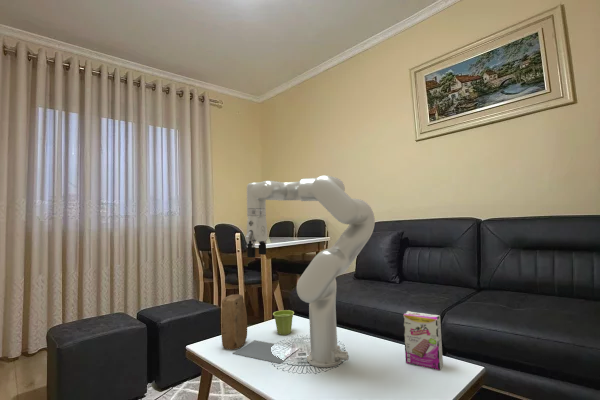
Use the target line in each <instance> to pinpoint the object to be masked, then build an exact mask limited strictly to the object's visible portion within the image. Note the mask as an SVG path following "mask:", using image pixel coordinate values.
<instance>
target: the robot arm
mask: <svg viewBox="0 0 600 400" xmlns="http://www.w3.org/2000/svg"><path fill="white" fill-rule="evenodd" d="M267 201H301V202H319V203H320V204H321V205H322V207H324V208H325V210H327V212H329V214H330V215H331V216H333V218H335V220H336V221H337V222H340V223H341V224H344V225H348V226H347V228H346V229H345V230H344V231H343V232H342V233H341V235H339V238H338V239H337V240H336V242H335V243H334V244H333V245H332V246H331V247H329V248H326V249H324V250H323V249H322V250H321V251H320V252H318V253H317V254H316V255H315V256H314V257H313V258H312V260H311V261H310V263H309V264H308V266H307V267H306V268H305V270H304V271H303V273H302V274H301V276H300V277H299V278H298V280H297V283H296V293H297V296H298V297H299V299H300V300H301V301H302V302H304V303H308V306H309V307H308V311H309V312H308V313H309V314H308V317H309V318H308V319H309V339H310V353H311V354H310V355H309V356H306V362H307V361H308V362H309V363H308V362H307V363H308V364H309V365H310V366H313V367H317V368H331V367H335V366H338V365H340V364H341V363H342V362H343V361H348V360H349V357H350V356H349V353H348V351H345V350H341V345H338V334H337V333H338V332H337V311H336V309H337V308H336V305H337V303H336V301H337V300H336V297H337V280H336V278H337V277H338V276H340V275H344V273H346V272H347V270H349V269H350V267H351V265H352V263H353V262H354V261H355V259H357V256H358V255H359V254H360V253H361V251H362V250H363V248H364V247H365V246H366V244H367V243H368V242H369V240H370V238H371V236H372V234H373V233H374V229H375V224H376V223H375V222H376V219H375V213H374V212H373V208H372V207H371V205H370V204H368V203H367V201H365V200H363V199H359V198H352V197H351V196H349V195H348V194H347V193H346V188H345V183H344V182H343V181H342V180H341V179H340V178H338V177H334V176H332V175H331V176H330V175H328V174H326V175H325V174H324V175H323V174H322V175H320V176H318V177H309V178H308V177H307V178H306V177H305V178H301V179H300V180H299V181H289V182H281V181H276V180H263V181H261V182H257V181H255V182H249V183H248V184H247V185H246V217H247V220H246V234H245V237H244V239H245V244H246V248H247V249H246V251H247V256H246V257H247V258H251V259H252V258H253V259H254V258H256V247H255V245H256V243H258V255H267V241H268V239H269V237H268V222H267V216H266V215H267V205H266V204H267Z"/></svg>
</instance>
